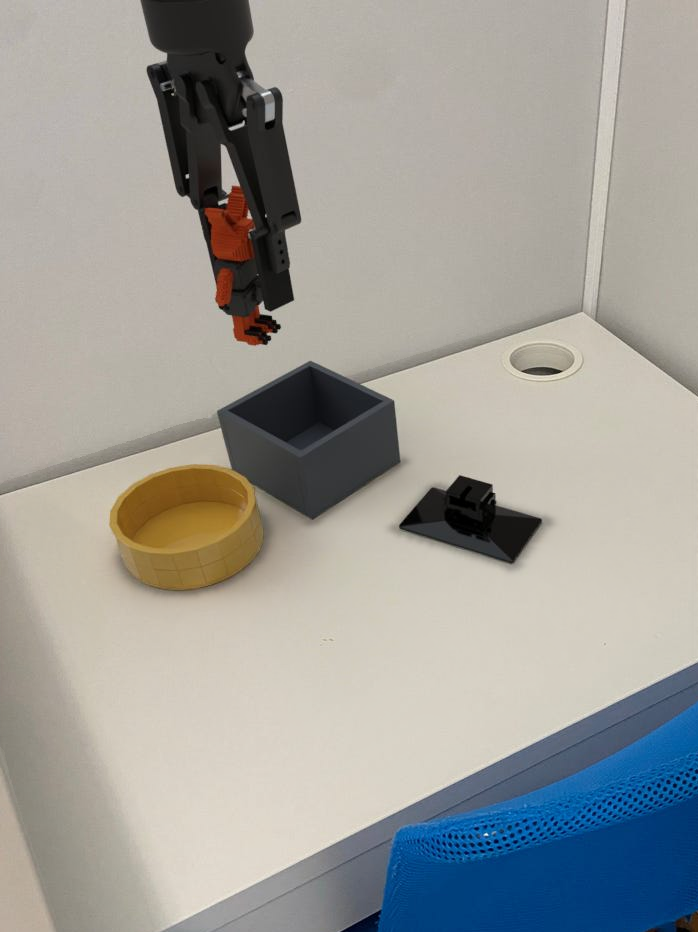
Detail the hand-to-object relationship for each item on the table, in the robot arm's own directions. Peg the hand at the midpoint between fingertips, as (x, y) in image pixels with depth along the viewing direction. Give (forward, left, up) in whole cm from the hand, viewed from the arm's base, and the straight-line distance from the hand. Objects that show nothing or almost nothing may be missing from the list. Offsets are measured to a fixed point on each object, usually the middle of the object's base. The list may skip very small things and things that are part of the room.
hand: (254, 293), depth 83 cm
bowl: (0, -13, -20) cm, 24 cm away
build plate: (+19, +6, -21) cm, 29 cm away
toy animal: (0, 0, -4) cm, 4 cm away
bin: (0, +3, -20) cm, 21 cm away
